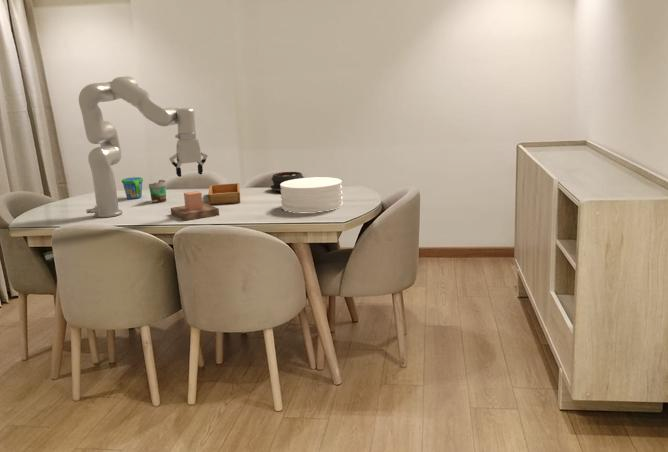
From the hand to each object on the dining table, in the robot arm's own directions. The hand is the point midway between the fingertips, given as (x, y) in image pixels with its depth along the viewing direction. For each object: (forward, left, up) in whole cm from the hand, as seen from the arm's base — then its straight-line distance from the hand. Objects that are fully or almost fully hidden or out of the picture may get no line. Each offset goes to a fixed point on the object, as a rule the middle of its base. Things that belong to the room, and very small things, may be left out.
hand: (189, 175), depth 309 cm
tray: (+26, +26, -19) cm, 42 cm away
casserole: (+61, +25, -18) cm, 69 cm away
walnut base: (0, 0, -18) cm, 18 cm away
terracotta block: (0, 0, -15) cm, 15 cm away
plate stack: (+48, -24, -18) cm, 57 cm away
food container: (-1, +44, -18) cm, 47 cm away
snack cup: (-8, +64, -18) cm, 67 cm away
